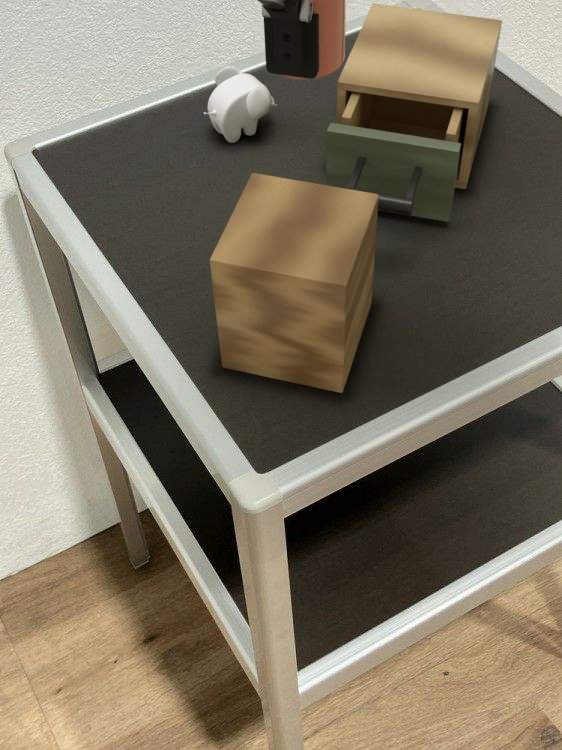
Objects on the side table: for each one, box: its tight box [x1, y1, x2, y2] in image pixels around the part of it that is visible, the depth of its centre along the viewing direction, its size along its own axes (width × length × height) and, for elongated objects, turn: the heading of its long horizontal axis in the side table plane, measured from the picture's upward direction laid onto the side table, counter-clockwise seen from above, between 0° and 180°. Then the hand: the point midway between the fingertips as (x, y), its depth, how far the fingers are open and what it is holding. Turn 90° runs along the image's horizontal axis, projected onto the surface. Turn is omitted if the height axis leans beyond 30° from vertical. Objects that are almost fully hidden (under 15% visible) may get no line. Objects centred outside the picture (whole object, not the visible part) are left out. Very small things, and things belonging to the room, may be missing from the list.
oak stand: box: [209, 172, 379, 394], centre depth 75 cm, size 10×10×12 cm
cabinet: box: [336, 3, 503, 190], centre depth 92 cm, size 14×13×10 cm
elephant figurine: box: [203, 65, 278, 144], centre depth 95 cm, size 7×8×6 cm
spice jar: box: [281, 0, 347, 80], centre depth 59 cm, size 5×5×6 cm
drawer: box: [325, 91, 469, 223], centre depth 87 cm, size 18×11×8 cm, turn 163°
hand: (305, 45), depth 60 cm, fingers closed on spice jar, 5 cm apart
